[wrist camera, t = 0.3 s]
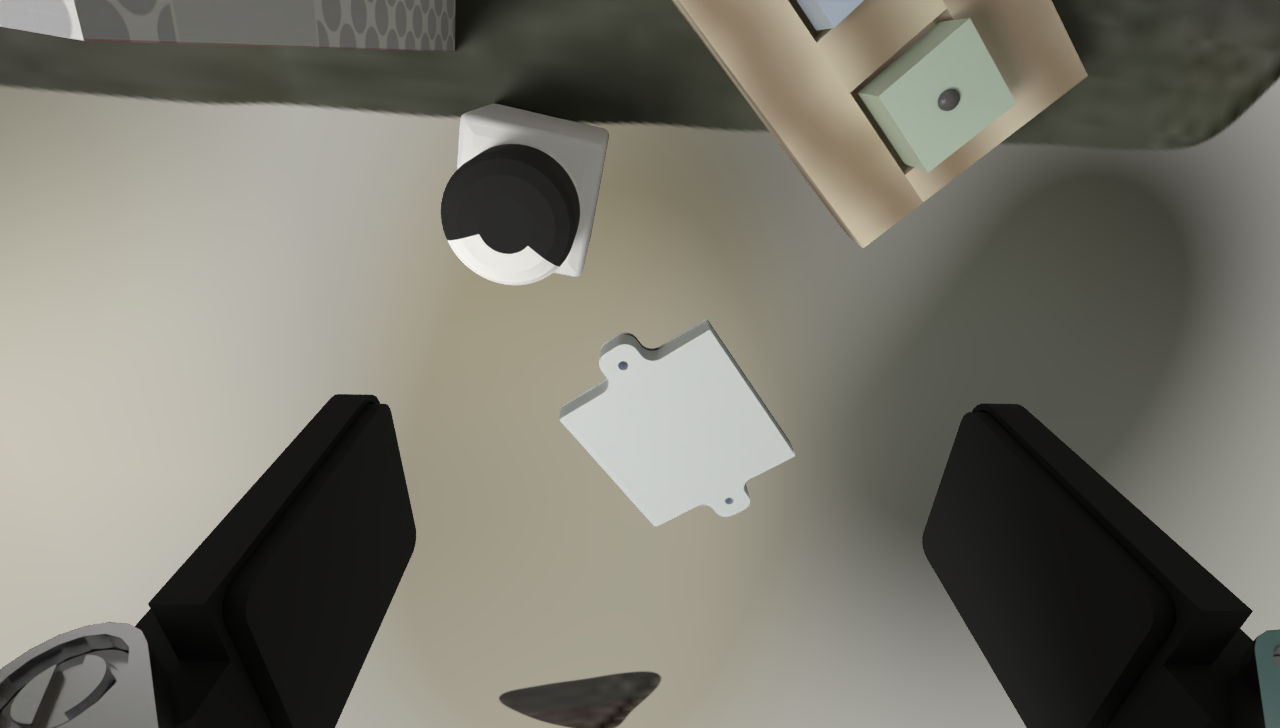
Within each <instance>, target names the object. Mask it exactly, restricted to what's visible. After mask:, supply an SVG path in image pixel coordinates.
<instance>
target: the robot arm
mask: <svg viewBox="0 0 1280 728" xmlns="http://www.w3.org/2000/svg"><path fill="white" fill-rule="evenodd" d="M415 542H416V528H415V524H414V518H413V514H412V509H411V504H410V499H409V495H408V490H407V485H406V480H405V476H404V471H403V466H402V462H401V457H400V452H399V447H398V443H397V438H396V433H395V428H394V424H393V419H392V414H391V411H390V408H389V406H388V405H386V404H380V402H379V401H378V399H377V397H376V396H374V395H347V394H343V395H342V394H341V395H340V394H338V395H334V396H333V397H332V398H331V399H330V400H329V401H328V402H327V403H326V404H325V405H324V406H323V408H322V409H321V410H320V411H319V412H318V413H317V414H316V416H315V417H314V418H313V419H312V420H311V421H310V422H309V423H308V424H307V426H306V427H305V428H304V429H303V430H302V432H300V433H299V435H298V436H297V437H296V438H295V439H294V440H293V441H292V442H291V444H290V445H289V446H288V447H287V448H286V449H285V451H284V452H283V453H282V454H281V455H280V456H279V457H278V458H277V459H276V461H275V462H274V463H273V464H272V465H271V466H270V467H269V468H268V469H267V471H266V472H265V473H264V474H263V475H262V476H261V477H260V478H259V480H258V481H257V482H256V483H255V484H254V485H253V486H252V487H251V489H250V490H249V491H248V492H247V493H246V494H245V495H244V496H243V498H242V499H241V500H240V501H239V502H238V503H237V504H236V505H235V507H234V508H233V509H232V510H231V511H230V512H229V513H228V514H227V516H226V517H225V518H224V519H223V520H222V521H221V522H220V523H219V525H218V526H217V527H216V528H215V529H214V530H213V531H212V532H211V534H210V535H209V536H208V537H207V538H206V539H205V541H203V543H202V544H201V545H200V546H199V547H198V548H197V549H196V550H195V551H194V553H193V554H192V555H191V556H190V557H189V558H188V559H187V560H186V562H185V563H184V564H183V565H182V566H181V567H180V568H179V569H178V571H177V572H176V573H175V574H174V575H173V576H172V578H170V580H169V581H168V582H167V583H166V584H165V585H164V586H163V587H162V589H161V590H160V591H159V592H158V593H157V594H156V596H155V597H154V598H153V599H152V600H151V601H150V602H149V606H150V608H151V609H150V610H149V611H148V612H147V613H146V615H145V616H144V617H143V618H142V619H141V620H140V621H139V622H138V624H137V625H136V626H135V627H134V626H132V625H130V624H127V623H115V622H107V623H100V624H94V625H88V626H84V627H81V628H78V629H75V630H72V631H69V632H66V633H63V634H60V635H58V636H56V637H54V638H52V639H50V640H48V641H46V642H44V643H42V644H40V645H38V646H36V647H34V648H32V649H30V650H28V651H27V652H25V653H24V654H22V655H21V656H19V657H18V658H16V659H15V660H14V661H12V662H11V663H9V664H7V665H6V666H4V667H3V668H2V669H1V670H0V728H335V726H336V724H337V721H338V719H339V717H340V715H341V713H342V710H343V708H344V706H345V704H346V701H347V699H348V697H349V695H350V692H351V690H352V688H353V686H354V683H355V681H356V679H357V676H358V674H359V672H360V670H361V668H362V665H363V663H364V661H365V659H366V656H367V654H368V652H369V650H370V647H371V645H372V643H373V641H374V638H375V636H376V634H377V632H378V630H379V627H380V625H381V623H382V620H383V618H384V616H385V614H386V612H387V609H388V607H389V605H390V603H391V600H392V598H393V596H394V594H395V591H396V589H397V587H398V585H399V582H400V580H401V578H402V576H403V573H404V571H405V569H406V567H407V564H408V562H409V560H410V558H411V555H412V553H413V550H414V547H415ZM922 542H923V549H924V552H925V555H926V557H927V559H928V561H929V562H930V564H931V566H932V568H933V569H934V571H935V573H936V574H937V576H938V578H939V579H940V581H941V583H942V584H943V586H944V588H945V590H946V591H947V593H948V595H949V596H950V598H951V600H952V601H953V603H954V605H955V606H956V608H957V610H958V612H959V613H960V615H961V617H962V618H963V620H964V622H965V624H966V625H967V627H968V629H969V630H970V632H971V634H972V635H973V637H974V639H975V641H976V642H977V644H978V645H979V647H980V649H981V651H982V652H983V654H984V656H985V657H986V659H987V661H988V663H989V664H990V666H991V668H992V669H993V671H994V673H995V674H996V676H997V678H998V680H999V681H1000V683H1001V684H1002V686H1003V688H1004V690H1005V691H1006V693H1007V695H1008V697H1009V698H1010V700H1011V701H1012V703H1013V705H1014V707H1015V708H1016V710H1017V712H1018V714H1019V715H1020V717H1021V718H1022V720H1023V722H1024V724H1025V725H1026V727H1027V728H1280V630H1269V631H1266V632H1264V633H1263V634H1261V635H1259V636H1258V637H1257V638H1256V639H1255V640H1254V641H1252V640H1251V639H1250V638H1249V637H1248V636H1247V635H1246V634H1245V633H1244V632H1243V631H1242V630H1241V629H1240V627H1241V626H1242V625H1243V623H1244V622H1245V621H1246V619H1247V618H1248V617H1249V616H1250V614H1251V613H1252V610H1251V609H1250V608H1249V607H1247V606H1246V605H1245V604H1244V603H1243V602H1242V601H1241V600H1240V599H1239V598H1237V597H1236V596H1235V595H1234V594H1233V593H1232V592H1231V591H1230V590H1228V589H1227V588H1226V587H1225V586H1224V585H1223V584H1222V583H1221V582H1219V581H1218V580H1217V579H1216V578H1215V577H1214V576H1213V575H1212V574H1210V573H1209V572H1208V571H1207V570H1206V569H1205V568H1204V567H1202V566H1201V565H1200V564H1199V563H1198V562H1197V561H1196V560H1195V559H1194V558H1193V557H1191V556H1190V555H1189V554H1188V553H1187V552H1186V551H1185V550H1184V549H1182V548H1181V547H1180V546H1179V545H1178V544H1177V543H1176V542H1174V541H1173V540H1172V539H1171V538H1170V537H1169V536H1168V535H1167V534H1166V533H1164V532H1163V531H1162V530H1161V529H1160V528H1159V527H1158V526H1157V525H1155V524H1154V523H1153V522H1152V521H1151V520H1150V519H1149V518H1148V517H1146V516H1145V515H1144V514H1143V513H1142V512H1141V511H1140V510H1139V509H1138V508H1136V507H1135V506H1134V505H1133V504H1132V503H1131V502H1130V501H1129V500H1127V499H1126V498H1125V497H1124V496H1123V495H1122V494H1121V493H1120V492H1118V491H1117V490H1116V489H1115V488H1114V487H1113V486H1112V485H1111V484H1109V483H1108V482H1107V481H1106V480H1105V479H1104V478H1103V477H1102V476H1100V475H1099V474H1098V473H1097V472H1096V471H1095V470H1094V469H1093V468H1091V467H1090V466H1089V465H1088V464H1087V463H1086V462H1085V461H1084V460H1082V459H1081V458H1080V457H1079V456H1078V455H1077V454H1076V453H1075V452H1073V451H1072V450H1071V449H1070V448H1069V447H1068V446H1067V445H1066V444H1065V443H1063V442H1062V441H1061V440H1060V439H1059V438H1058V437H1057V436H1055V435H1054V434H1053V433H1052V432H1051V431H1050V430H1049V429H1048V428H1047V427H1045V426H1044V425H1043V424H1042V423H1041V422H1040V421H1039V420H1038V419H1036V418H1035V417H1034V416H1033V415H1032V414H1031V413H1030V412H1029V411H1028V410H1026V409H1025V408H1024V407H1022V406H1021V405H1017V404H980V405H977V406H976V407H975V408H974V409H973V411H972V412H969V413H967V414H965V415H964V417H963V419H962V421H961V423H960V426H959V429H958V432H957V435H956V438H955V441H954V444H953V447H952V450H951V453H950V456H949V459H948V462H947V465H946V468H945V471H944V474H943V477H942V480H941V483H940V485H939V488H938V491H937V494H936V497H935V500H934V503H933V506H932V509H931V512H930V515H929V518H928V521H927V524H926V527H925V530H924V533H923V541H922Z"/></svg>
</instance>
